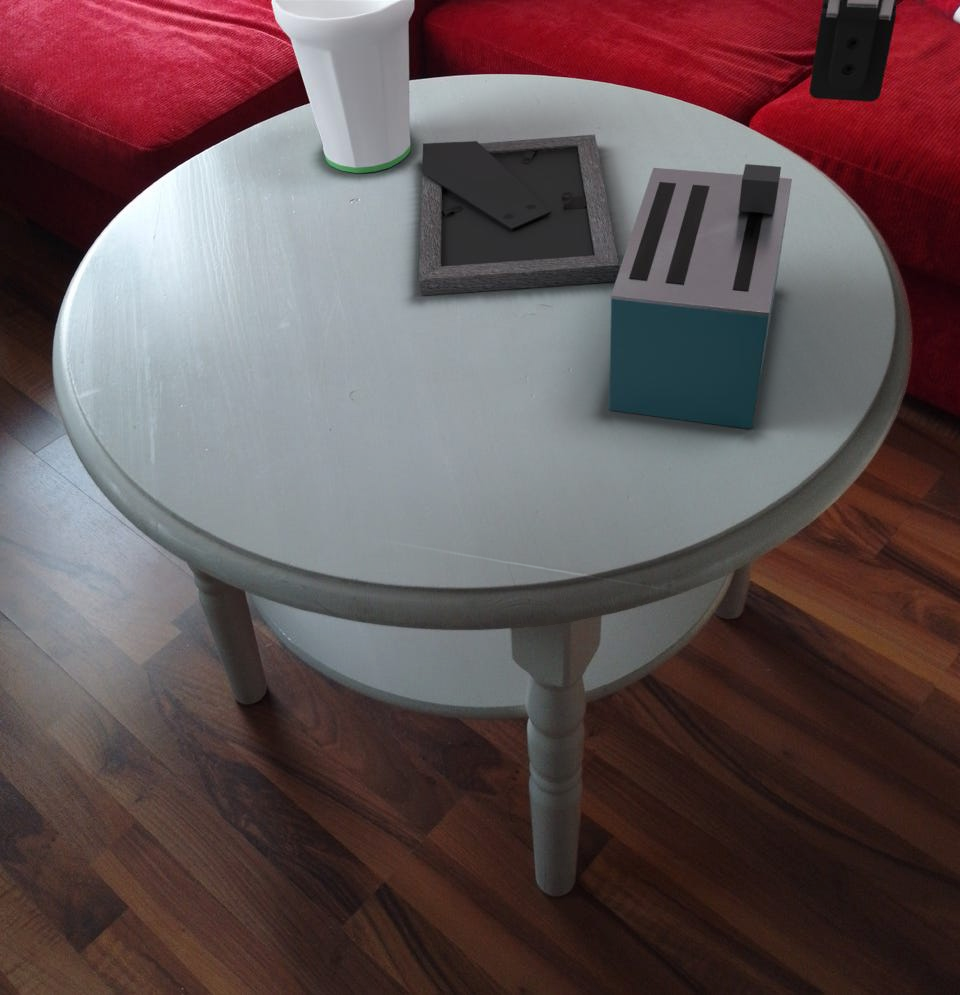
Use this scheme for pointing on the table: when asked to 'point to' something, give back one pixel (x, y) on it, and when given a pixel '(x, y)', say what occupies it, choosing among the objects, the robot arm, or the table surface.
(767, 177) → the block
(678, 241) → the toaster
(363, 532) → the table surface
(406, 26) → the cup
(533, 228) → the picture frame
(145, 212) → the table surface
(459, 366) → the table surface
